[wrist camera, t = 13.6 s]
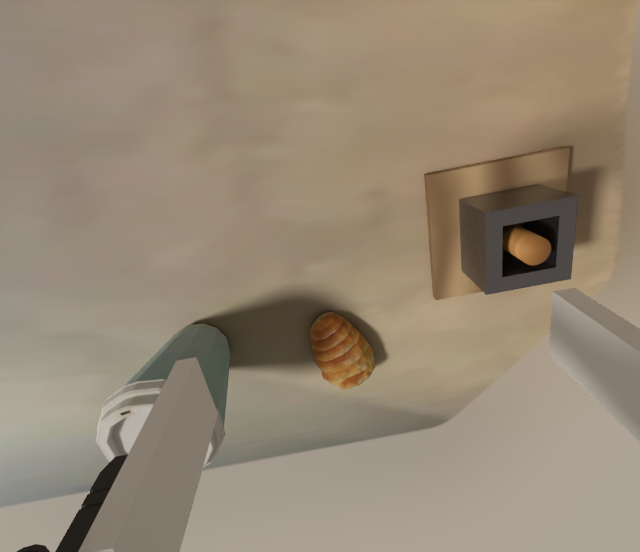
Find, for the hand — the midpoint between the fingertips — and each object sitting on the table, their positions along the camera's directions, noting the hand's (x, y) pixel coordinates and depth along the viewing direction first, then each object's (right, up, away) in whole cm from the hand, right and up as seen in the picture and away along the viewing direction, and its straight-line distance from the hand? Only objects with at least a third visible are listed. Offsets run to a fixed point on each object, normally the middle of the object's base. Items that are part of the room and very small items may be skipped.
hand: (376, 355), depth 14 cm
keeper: (+17, +8, +26) cm, 32 cm away
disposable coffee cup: (-16, -5, +31) cm, 35 cm away
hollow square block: (+17, +8, +25) cm, 31 cm away
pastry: (0, -6, +32) cm, 33 cm away
